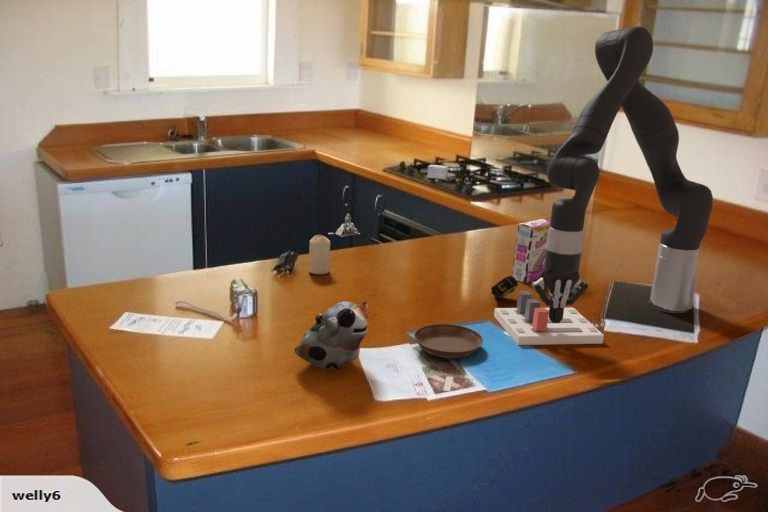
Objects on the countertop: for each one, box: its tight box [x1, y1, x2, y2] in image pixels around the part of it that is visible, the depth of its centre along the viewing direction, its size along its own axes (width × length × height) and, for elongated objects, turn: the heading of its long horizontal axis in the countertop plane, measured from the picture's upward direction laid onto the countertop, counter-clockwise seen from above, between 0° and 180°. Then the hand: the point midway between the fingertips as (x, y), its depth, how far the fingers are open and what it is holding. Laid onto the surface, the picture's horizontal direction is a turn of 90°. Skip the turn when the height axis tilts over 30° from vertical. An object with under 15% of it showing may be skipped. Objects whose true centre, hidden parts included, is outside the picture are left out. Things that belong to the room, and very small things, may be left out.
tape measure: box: [490, 275, 519, 300], centre depth 191 cm, size 7×7×4 cm
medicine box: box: [427, 164, 449, 180], centre depth 324 cm, size 8×4×9 cm, turn 74°
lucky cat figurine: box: [294, 300, 370, 371], centre depth 152 cm, size 15×12×14 cm
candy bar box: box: [511, 218, 550, 284], centre depth 208 cm, size 11×5×16 cm, turn 135°
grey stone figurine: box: [328, 213, 361, 238], centre depth 243 cm, size 9×9×8 cm
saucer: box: [413, 323, 484, 359], centre depth 163 cm, size 15×15×3 cm
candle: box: [308, 234, 331, 275], centre depth 205 cm, size 6×6×10 cm
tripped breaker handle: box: [532, 307, 549, 331], centre depth 169 cm, size 2×2×4 cm
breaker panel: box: [493, 290, 605, 346], centre depth 175 cm, size 20×17×7 cm
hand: (554, 321), depth 169 cm, fingers closed
